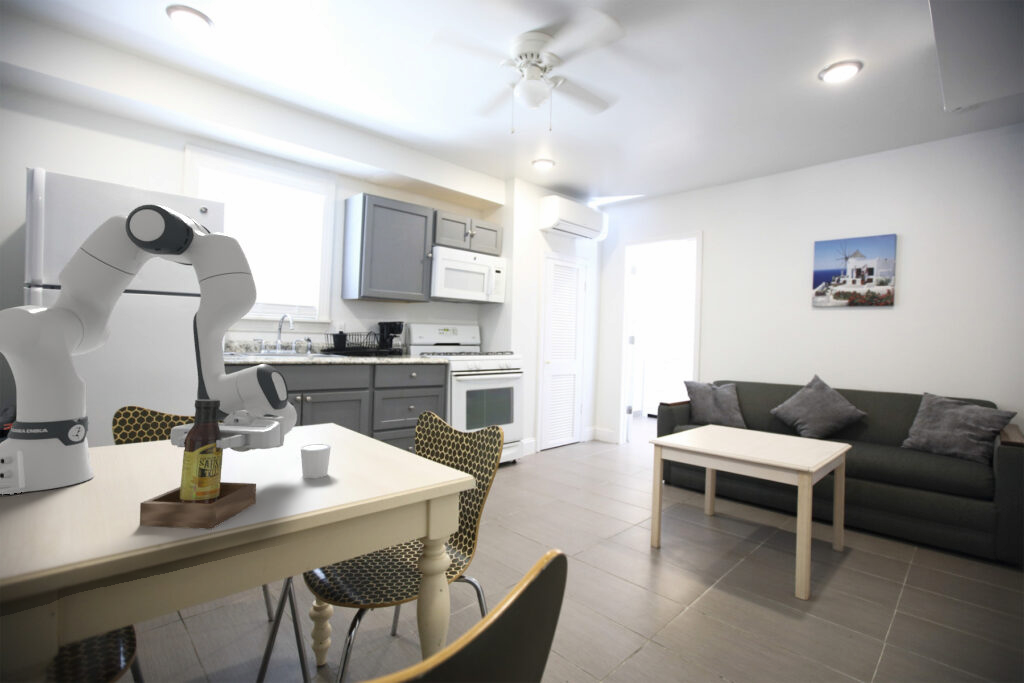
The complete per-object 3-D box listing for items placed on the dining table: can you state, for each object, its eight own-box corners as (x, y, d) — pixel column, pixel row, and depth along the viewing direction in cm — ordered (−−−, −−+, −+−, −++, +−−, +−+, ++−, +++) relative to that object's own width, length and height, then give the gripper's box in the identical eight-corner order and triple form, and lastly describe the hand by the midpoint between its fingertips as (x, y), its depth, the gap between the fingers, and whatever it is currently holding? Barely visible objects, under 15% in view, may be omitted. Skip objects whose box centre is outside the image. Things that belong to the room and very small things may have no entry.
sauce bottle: (199, 512, 84) (205, 401, 85) (170, 509, 85) (176, 400, 86) (228, 502, 91) (233, 399, 91) (200, 499, 92) (206, 397, 93)
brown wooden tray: (139, 525, 82) (140, 503, 82) (193, 500, 95) (193, 481, 95) (211, 529, 82) (212, 506, 82) (255, 503, 95) (256, 483, 95)
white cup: (319, 480, 111) (320, 450, 111) (293, 478, 112) (294, 448, 112) (335, 472, 118) (336, 444, 118) (310, 470, 119) (311, 442, 119)
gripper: (199, 413, 102) (147, 424, 88) (291, 416, 101) (253, 429, 87) (198, 442, 102) (146, 458, 88) (290, 446, 101) (252, 462, 87)
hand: (200, 443), depth 88 cm, fingers closed on sauce bottle, 6 cm apart
